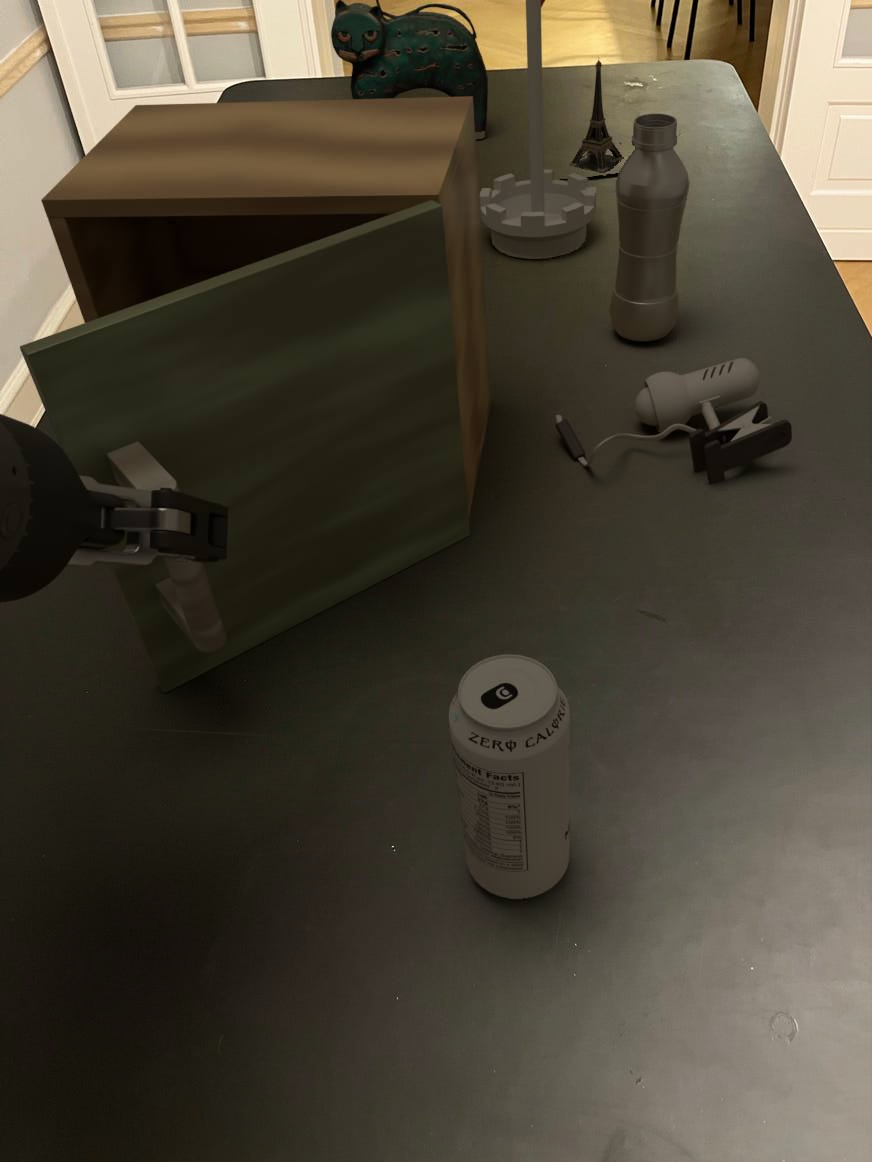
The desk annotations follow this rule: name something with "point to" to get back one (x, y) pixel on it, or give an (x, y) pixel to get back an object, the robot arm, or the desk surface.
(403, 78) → the ceramic cat
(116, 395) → the cupboard door
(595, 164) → the eiffel tower figurine
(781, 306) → the desk surface
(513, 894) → the energy drink can
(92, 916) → the desk surface
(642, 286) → the plastic bottle
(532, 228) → the flag stand
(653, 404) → the clip-on lamp
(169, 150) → the cupboard
